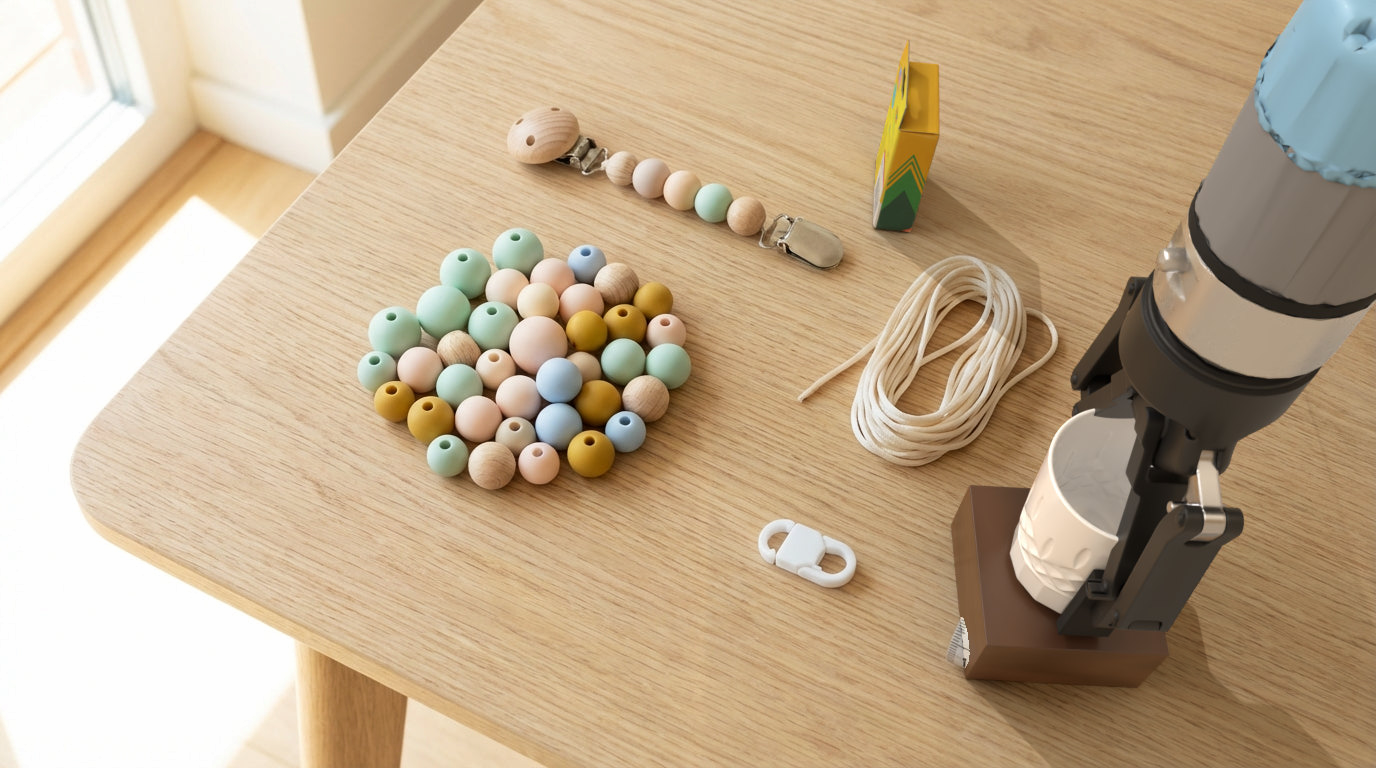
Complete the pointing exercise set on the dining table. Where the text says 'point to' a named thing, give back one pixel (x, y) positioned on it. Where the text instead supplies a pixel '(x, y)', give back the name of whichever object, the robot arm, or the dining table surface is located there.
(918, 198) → the crayon box
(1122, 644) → the walnut riser
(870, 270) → the dining table surface
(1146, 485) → the robot arm
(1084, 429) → the white cup
